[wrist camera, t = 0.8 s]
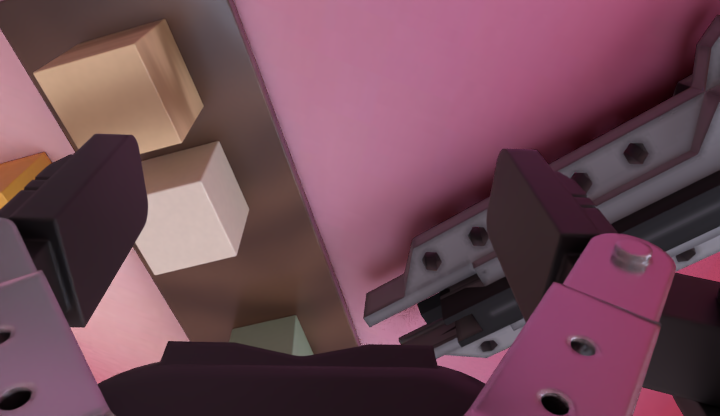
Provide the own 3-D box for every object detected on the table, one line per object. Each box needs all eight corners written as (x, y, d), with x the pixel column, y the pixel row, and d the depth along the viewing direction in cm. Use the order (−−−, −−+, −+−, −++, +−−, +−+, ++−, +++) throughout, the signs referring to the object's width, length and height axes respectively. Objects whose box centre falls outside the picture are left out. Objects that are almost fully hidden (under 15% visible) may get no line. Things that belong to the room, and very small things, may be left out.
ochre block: (-28, 171, 31) (-82, 214, 27) (45, 151, 30) (0, 192, 26) (19, 234, 33) (-24, 283, 29) (87, 217, 32) (52, 264, 29)
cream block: (141, 160, 29) (110, 203, 26) (219, 139, 29) (200, 180, 25) (177, 227, 32) (154, 276, 28) (250, 209, 31) (237, 256, 27)
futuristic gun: (271, 219, 28) (421, 418, 32) (1041, -247, 19) (1109, 116, 23) (296, 178, 34) (418, 349, 38) (883, -188, 25) (960, 89, 29)
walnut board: (-3, 1, 26) (-15, 5, 25) (209, -65, 25) (205, -62, 24) (231, 396, 41) (229, 407, 40) (369, 367, 40) (370, 377, 39)
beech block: (78, 43, 26) (31, 72, 22) (165, 18, 26) (133, 43, 22) (123, 128, 28) (89, 168, 25) (204, 106, 28) (182, 143, 24)
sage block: (231, 328, 36) (218, 383, 32) (296, 314, 36) (291, 367, 32) (255, 373, 39) (246, 429, 35) (316, 360, 38) (314, 415, 34)
